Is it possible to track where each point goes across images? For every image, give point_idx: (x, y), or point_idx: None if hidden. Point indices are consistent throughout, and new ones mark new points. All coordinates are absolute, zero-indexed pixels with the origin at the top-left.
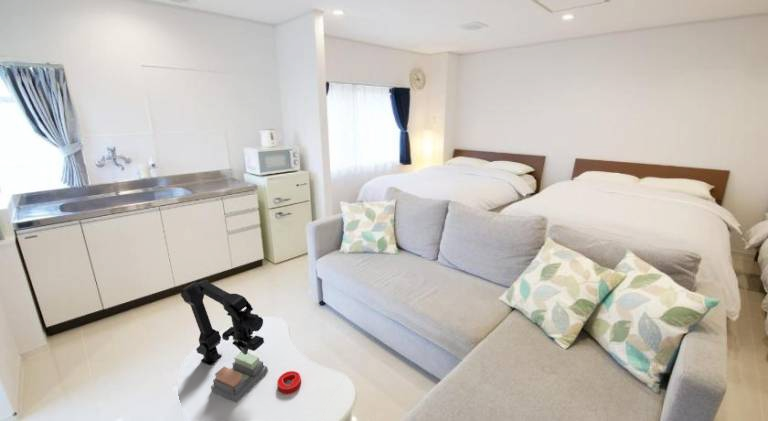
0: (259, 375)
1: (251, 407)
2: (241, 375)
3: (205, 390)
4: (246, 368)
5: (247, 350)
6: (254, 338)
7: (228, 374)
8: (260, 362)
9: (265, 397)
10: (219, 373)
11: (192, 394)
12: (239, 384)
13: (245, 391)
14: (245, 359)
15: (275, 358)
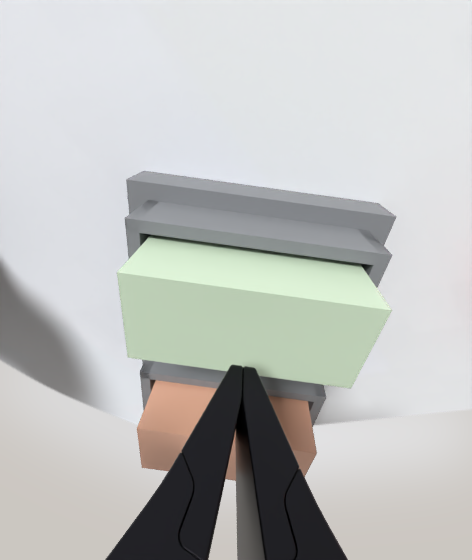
0: None
1: (384, 398)
2: (313, 436)
3: (125, 374)
4: None
5: (274, 425)
6: None
7: (229, 463)
8: (367, 264)
9: (435, 356)
10: (164, 463)
11: (97, 393)
12: (312, 426)
13: None
14: (254, 358)
15: (393, 35)
